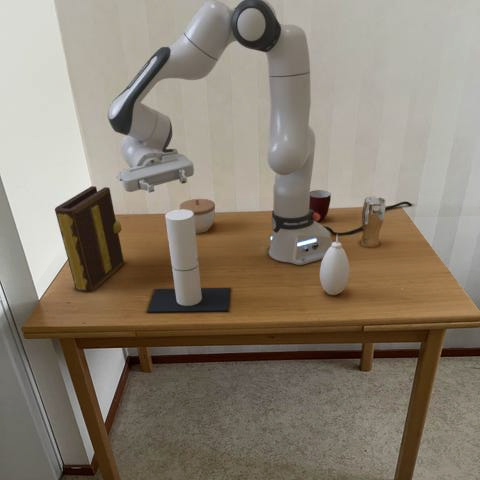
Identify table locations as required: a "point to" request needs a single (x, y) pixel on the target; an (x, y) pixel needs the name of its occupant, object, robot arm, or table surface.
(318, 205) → the mug
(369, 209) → the beer glass
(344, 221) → the table surface
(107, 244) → the book
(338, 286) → the white bulb air blower
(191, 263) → the cylindrical container
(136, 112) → the robot arm
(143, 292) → the table surface
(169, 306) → the felt mat
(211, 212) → the lidded bowl
